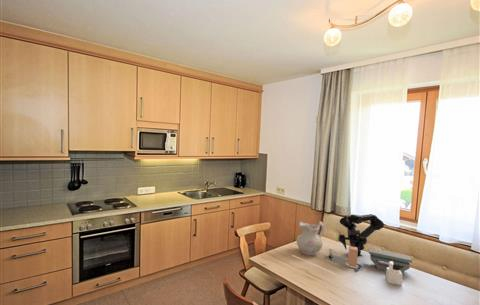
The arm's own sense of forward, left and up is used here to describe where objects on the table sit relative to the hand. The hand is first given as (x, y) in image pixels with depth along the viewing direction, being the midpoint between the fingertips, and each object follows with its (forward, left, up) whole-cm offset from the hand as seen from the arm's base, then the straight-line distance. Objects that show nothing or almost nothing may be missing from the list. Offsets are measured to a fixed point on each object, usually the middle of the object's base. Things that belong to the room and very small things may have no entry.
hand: (353, 250), depth 175 cm
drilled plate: (+3, -5, -10) cm, 11 cm away
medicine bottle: (+2, +27, -10) cm, 29 cm away
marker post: (+3, +1, -9) cm, 9 cm away
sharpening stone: (-14, +19, -10) cm, 26 cm away
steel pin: (+3, -15, -9) cm, 18 cm away
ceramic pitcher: (+8, -29, -10) cm, 32 cm away
